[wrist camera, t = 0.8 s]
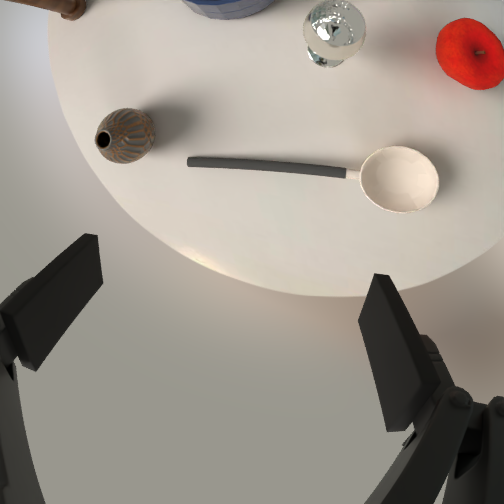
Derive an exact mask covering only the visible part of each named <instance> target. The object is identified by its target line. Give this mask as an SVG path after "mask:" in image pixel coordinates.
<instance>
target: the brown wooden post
mask: <svg viewBox="0 0 504 504" xmlns="http://www.w3.org/2000/svg"><path fill="white" fill-rule="evenodd" d="M6 1H11V2H16V3H21V4H26V5H30V6H35V7H39V8H43V9H47V10H51V11H54V12H58V13H61V17H62V18H63V19H67V20H70V21H73V20H76V19H78V18H79V17H80V16H81V15H82V14H83V13H84V11H85V9H86V1H85V0H6Z"/></svg>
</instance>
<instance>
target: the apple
mask: <svg viewBox="0 0 504 504" xmlns="http://www.w3.org/2000/svg"><path fill="white" fill-rule="evenodd" d="M436 56H437V59H438V62H439V64H440V66H441V68H442V69H443V70H444V72H445V73H446V74H447V75H448V76H450V77H451V78H453V79H455V80H456V81H458V82H459V83H461V84H463V85H465V86H467V87H469V88H471V89H474V90H485V89H489V88H493V87H495V86H497V85H498V84H499V83H500V82H501V81H502V80H503V78H504V49H503V46H502V44H501V42H500V40H499V39H498V38H497V37H496V35H495V34H494V33H493V32H492V31H490V30H489V29H488V28H487V27H486V26H485V25H483V24H482V23H481V22H478V21H476V20H474V19H470V18H461V19H458V20H455V21H453V22H450V23H449V24H447V25H446V26H445V27H444V28H443V29H442V30H441V31H440V33H439V35H438V37H437V43H436Z"/></svg>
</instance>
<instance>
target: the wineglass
mask: <svg viewBox="0 0 504 504" xmlns="http://www.w3.org/2000/svg"><path fill="white" fill-rule="evenodd" d="M303 35H304V39H305V41H306V43H307V45H308V55H309V57H310V58H311V60H312V61H313V62H314V63H315V64H317V65H319V66H322V67H327V68H328V67H334V66H337V65H338V64H340V63H341V62H342V60H344V59H348V58H350V57H352V56H354V55H355V54H356V53H357V52H358V51H359V50H360V49H361V48H362V46H363V44H364V41H365V37H366V23H365V20H364V17H363V15H362V14H361V12H360V11H359V10H358V9H357V8H356V7H355V6H354V5H352V4H350V3H348V2H346V1H343V0H325V1H323V2H321V3H319V4H317V5H316V6H315V7H314V8H312V9H311V11H310V12H309V13H308V15H307V16H306V18H305V21H304V24H303Z"/></svg>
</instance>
